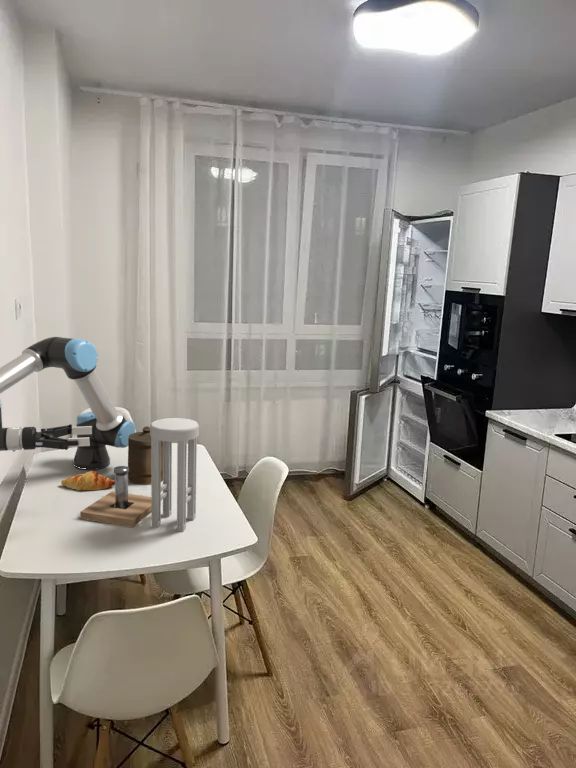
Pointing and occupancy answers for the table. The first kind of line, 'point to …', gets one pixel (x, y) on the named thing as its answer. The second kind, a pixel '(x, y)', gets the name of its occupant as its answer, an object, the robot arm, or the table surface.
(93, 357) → the robot arm
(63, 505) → the table surface
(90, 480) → the croissant
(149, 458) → the wooden container
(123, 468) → the link pin
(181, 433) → the stool
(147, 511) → the keeper block
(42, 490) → the table surface
